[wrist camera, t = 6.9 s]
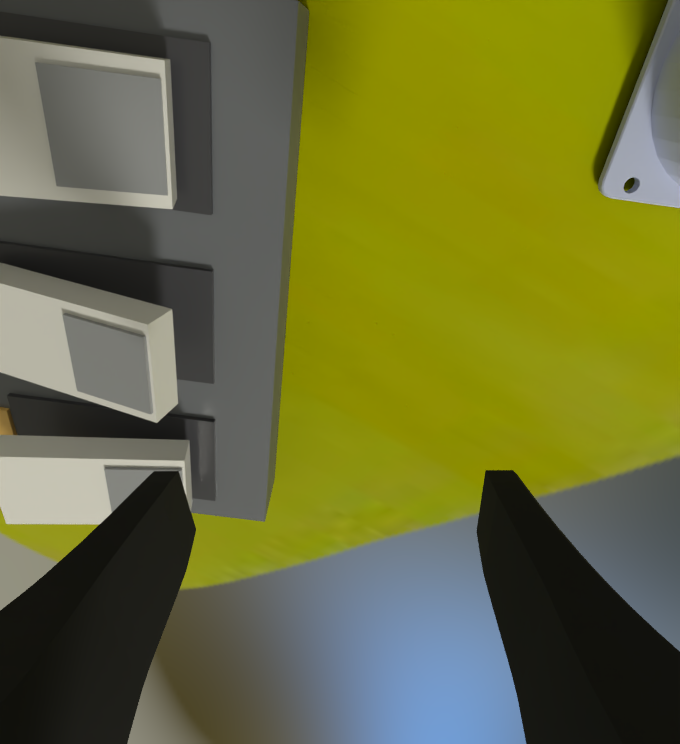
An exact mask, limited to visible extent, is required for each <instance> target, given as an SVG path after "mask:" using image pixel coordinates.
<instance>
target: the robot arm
mask: <svg viewBox="0 0 680 744" xmlns="http://www.w3.org/2000/svg"><path fill="white" fill-rule="evenodd" d="M633 177H634V179H635V182H634V185H633V186H632V188H631V189H629V190H628V191H624V189H623V188H624V184H625V182H626V181H627V180H628V179H630V178H633ZM598 188H599V191H600V192H601V193H602V194H603V195H605V196H607V197H609V198H613V199H620V200H627V201H634V202H641V203H648V204H655V205H662V206H669V207H676V208H680V0H668V3H667V5H666V8H665V10H664V13H663V15H662V18H661V21H660V23H659V26H658V28H657V31H656V34H655V36H654V39H653V41H652V44H651V46H650V49H649V52H648V54H647V57H646V59H645V62H644V65H643V67H642V70H641V72H640V75H639V78H638V80H637V83H636V85H635V88H634V90H633V93H632V96H631V98H630V101H629V103H628V106H627V109H626V111H625V114H624V116H623V119H622V121H621V124H620V127H619V129H618V132H617V134H616V137H615V140H614V142H613V145H612V147H611V150H610V153H609V155H608V158H607V160H606V163H605V165H604V168H603V171H602V173H601V176H600V178H599V183H598ZM195 532H196V528H195V524H194V521H193V518H192V514H191V511H190V508H189V504H188V501H187V497H186V494H185V491H184V487H183V484H182V480H181V477H180V474H179V471H154V472H153V473H152V474H150V475H149V476H148V477H147V478H146V479H145V480H144V481H143V482H142V483H141V484H140V485H139V486H138V487H137V488H136V489H135V490H134V491H133V492H132V493H131V494H130V495H129V496H128V497H127V498H126V499H125V500H124V501H123V502H122V503H121V504H120V505H119V506H118V507H117V508H116V509H115V510H114V511H113V512H112V513H111V514H110V515H109V516H108V517H107V518H106V519H105V520H104V521H103V522H102V523H101V524H100V525H99V526H98V527H97V528H96V529H94V530H93V531H92V532H91V533H90V534H89V535H88V536H87V537H86V538H85V539H84V540H83V541H82V542H81V543H80V544H79V545H78V546H76V547H75V548H74V549H73V550H72V551H71V552H70V553H69V554H68V555H66V556H65V557H64V558H63V559H62V560H61V561H60V562H59V563H57V564H56V565H55V566H54V567H53V568H52V569H51V570H50V571H48V572H47V573H46V574H45V575H44V576H43V577H42V578H40V579H39V580H38V581H37V582H36V583H35V584H33V585H32V586H31V587H30V588H28V589H27V590H26V591H25V592H24V593H22V594H21V595H20V596H19V597H17V598H16V599H15V600H13V601H12V602H11V603H10V604H8V605H7V606H6V607H4V608H3V609H2V610H1V611H0V744H127V742H128V738H129V734H130V731H131V727H132V724H133V720H134V716H135V713H136V709H137V706H138V702H139V699H140V695H141V691H142V688H143V685H144V682H145V679H146V676H147V673H148V670H149V667H150V665H151V662H152V659H153V657H154V654H155V651H156V649H157V646H158V644H159V641H160V639H161V636H162V633H163V630H164V628H165V625H166V623H167V620H168V617H169V615H170V612H171V610H172V607H173V604H174V602H175V599H176V597H177V594H178V591H179V589H180V586H181V583H182V580H183V578H184V575H185V572H186V569H187V565H188V561H189V557H190V553H191V549H192V545H193V541H194V536H195ZM477 537H478V543H479V549H480V556H481V562H482V567H483V573H484V577H485V581H486V585H487V588H488V592H489V595H490V598H491V602H492V606H493V610H494V613H495V616H496V620H497V623H498V627H499V631H500V634H501V638H502V641H503V644H504V648H505V651H506V655H507V658H508V662H509V666H510V669H511V673H512V677H513V681H514V685H515V689H516V693H517V697H518V702H519V707H520V712H521V718H522V723H523V728H524V733H525V738H526V743H527V744H680V652H679V651H678V650H677V649H676V648H675V647H674V646H673V645H672V644H670V643H669V642H668V641H667V640H666V639H665V638H664V637H663V636H662V635H660V634H659V633H658V632H657V631H656V630H655V629H654V628H653V627H652V626H651V625H650V624H649V623H647V622H646V621H645V620H644V619H643V618H642V617H641V616H640V615H639V614H638V613H637V612H636V611H635V610H633V608H632V607H630V605H628V603H627V602H626V601H625V600H623V598H622V597H621V596H620V595H619V594H618V593H617V592H616V591H615V590H613V588H612V587H611V586H610V585H609V584H608V583H607V582H606V581H605V580H604V579H603V578H602V577H601V576H600V575H599V573H598V572H597V571H596V570H595V569H594V568H593V567H592V566H591V565H590V564H589V563H588V562H587V560H586V559H585V558H584V557H583V556H582V555H581V554H580V553H579V551H578V550H577V549H576V548H575V547H574V546H573V545H572V543H571V542H570V541H569V540H568V539H567V538H566V536H565V535H564V534H563V533H562V532H561V530H559V528H558V527H557V526H556V524H555V523H554V522H553V521H552V519H551V518H550V517H549V516H548V514H547V513H546V512H545V511H544V509H543V508H542V507H541V506H540V505H539V503H538V502H537V500H536V499H535V498H534V496H533V495H532V494H531V493H530V491H529V490H528V489H527V487H526V486H525V485H524V483H523V482H522V481H521V479H520V478H519V476H518V475H517V474H516V473H515V472H514V471H513V470H486V472H485V478H484V485H483V492H482V499H481V505H480V512H479V519H478V526H477Z"/></svg>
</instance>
